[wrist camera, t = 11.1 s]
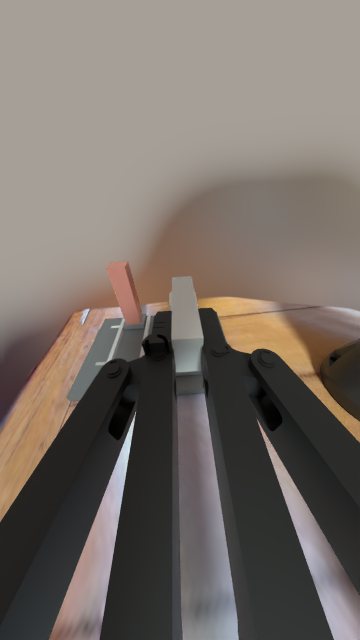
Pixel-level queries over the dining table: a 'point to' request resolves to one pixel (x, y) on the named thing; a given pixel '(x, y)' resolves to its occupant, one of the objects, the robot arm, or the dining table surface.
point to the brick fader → (126, 295)
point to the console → (123, 356)
